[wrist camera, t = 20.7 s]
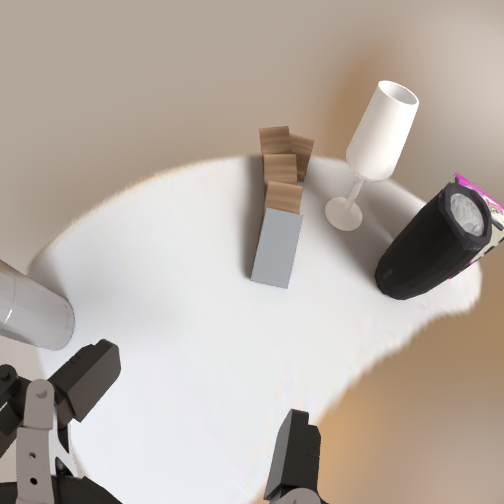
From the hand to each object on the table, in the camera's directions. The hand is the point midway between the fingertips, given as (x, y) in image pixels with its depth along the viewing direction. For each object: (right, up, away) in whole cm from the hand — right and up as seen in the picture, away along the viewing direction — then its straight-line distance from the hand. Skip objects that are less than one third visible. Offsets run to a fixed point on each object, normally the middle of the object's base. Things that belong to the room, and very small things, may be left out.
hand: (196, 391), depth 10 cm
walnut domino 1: (+7, +17, +34) cm, 39 cm away
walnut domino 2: (+7, +11, +31) cm, 34 cm away
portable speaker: (+25, +2, +28) cm, 38 cm away
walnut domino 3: (+6, +6, +29) cm, 30 cm away
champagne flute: (+18, +12, +33) cm, 39 cm away
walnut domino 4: (+9, +19, +35) cm, 41 cm away
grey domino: (+5, +2, +27) cm, 27 cm away
